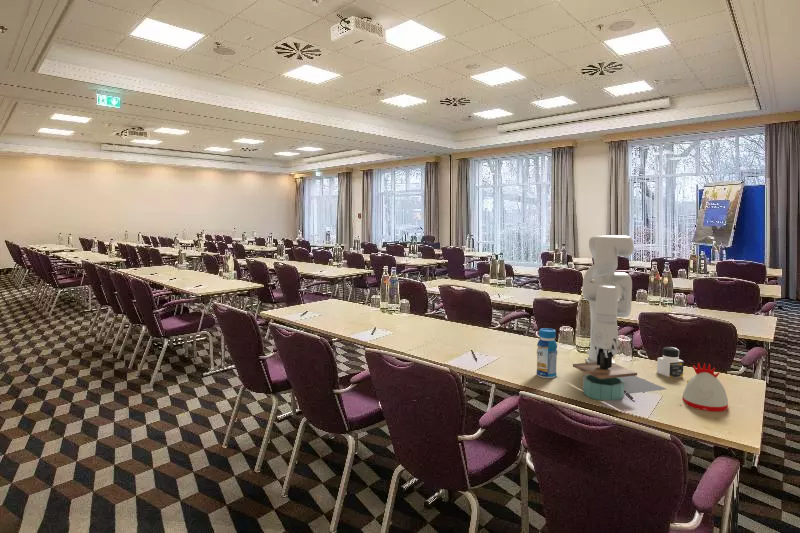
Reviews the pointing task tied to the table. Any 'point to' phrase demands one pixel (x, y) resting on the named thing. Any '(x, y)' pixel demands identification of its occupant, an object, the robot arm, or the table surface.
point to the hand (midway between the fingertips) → (604, 365)
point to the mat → (639, 385)
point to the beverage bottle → (546, 353)
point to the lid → (604, 369)
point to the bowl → (603, 388)
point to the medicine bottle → (670, 363)
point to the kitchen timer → (705, 391)
